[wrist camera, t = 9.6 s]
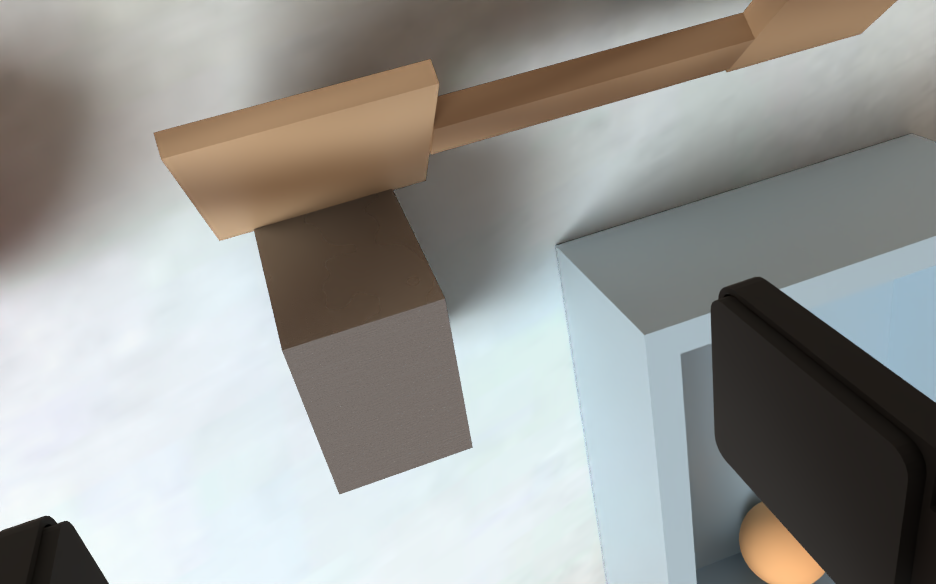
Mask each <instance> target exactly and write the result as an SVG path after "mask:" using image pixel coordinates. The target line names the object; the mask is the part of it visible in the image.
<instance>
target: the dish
mask: <svg viewBox="0 0 936 584" xmlns="http://www.w3.org/2000/svg"><path fill="white" fill-rule="evenodd" d="M556 252H557V259H558V266H559V272H560V279H561V285H562V292H563V299H564V305H565V312H566V318H567V325H568V331H569V338H570V345H571V351H572V358H573V364H574V371H575V377H576V384H577V391H578V397H579V404H580V410H581V417H582V424H583V430H584V437H585V443H586V450H587V456H588V463H589V470H590V476H591V483H592V489H593V496H594V503H595V509H596V516H597V522H598V529H599V535H600V542H601V549H602V555H603V562H604V568H605V575H606V581H607V584H769V583H767V582H765V581H763V580H762V579H761V578H759V577H758V576H757V575H756V574H755V573H754V572H753V571H752V570H751V569H750V568H749V566H748V565H747V563H746V562H745V560H744V558H743V556H742V553H741V550H740V545H739V532H740V527H741V524H742V521H743V519H744V517H745V516H746V514H747V513H748V512H749V510H750V509H752V508H753V507H754V506H755V505H757V504H758V503H760V502H762V501H761V500H760V499H759V498H758V496H757V495H756V494H755V493H754V492H753V491H752V490H751V489H750V488H749V486H748V485H747V484H746V483H745V482H744V481H743V480H742V479H741V477H740V476H739V475H738V474H737V473H736V472H735V471H734V470H733V469H732V467H731V466H730V465H729V464H728V463H727V462H726V461H725V459H724V458H723V457H722V455H721V453H720V452H719V449H718V447H717V444H716V441H715V434H714V404H713V373H712V342H711V312H710V310H711V304H712V302H714V301H715V300H718V296H719V292H720V290H721V289H722V288H724V287H726V286H729V285H732V284H735V283H738V282H741V281H744V280H747V279H750V278H753V277H762V278H764V279H766V280H767V281H769V282H770V283H771V284H773V285H774V286H775V287H777V288H778V289H780V290H781V291H782V292H784V293H785V294H786V295H788V296H789V297H791V298H792V299H793V300H795V301H796V302H798V303H799V304H800V305H802V306H803V307H804V308H806V309H807V310H809V311H810V312H811V313H813V314H814V315H815V316H817V317H818V318H820V319H821V320H822V321H824V322H825V323H826V324H828V325H829V326H831V327H832V328H833V329H835V330H836V331H838V332H839V333H840V334H842V335H843V336H844V337H846V338H847V339H849V340H850V341H851V342H853V343H854V344H855V345H857V346H858V347H860V348H861V349H862V350H864V351H865V352H867V353H868V354H869V355H871V356H872V357H873V358H875V359H876V360H878V361H879V362H880V363H882V364H883V365H884V366H886V367H887V368H889V369H890V370H891V371H893V372H894V373H896V374H897V375H898V376H900V377H901V378H902V379H904V380H905V381H907V382H908V383H909V384H911V385H912V386H913V387H915V388H916V389H918V390H919V391H920V392H922V393H923V394H925V395H926V396H927V397H929V398H930V399H931V400H933V401H934V402H936V142H935V141H932V140H929V139H926V138H924V137H921V136H918V135H915V134H908V135H905V136H902V137H899V138H896V139H893V140H889V141H886V142H883V143H880V144H877V145H874V146H870V147H867V148H864V149H861V150H858V151H854V152H851V153H848V154H845V155H842V156H839V157H835V158H832V159H829V160H826V161H823V162H820V163H816V164H813V165H810V166H807V167H804V168H800V169H797V170H794V171H791V172H788V173H785V174H781V175H778V176H775V177H772V178H769V179H766V180H762V181H759V182H756V183H753V184H750V185H746V186H743V187H740V188H737V189H734V190H731V191H727V192H724V193H721V194H718V195H715V196H711V197H708V198H705V199H702V200H699V201H696V202H692V203H689V204H686V205H683V206H680V207H677V208H673V209H670V210H667V211H664V212H661V213H657V214H654V215H651V216H648V217H645V218H642V219H638V220H635V221H632V222H629V223H626V224H623V225H619V226H616V227H613V228H610V229H607V230H603V231H600V232H597V233H594V234H591V235H588V236H584V237H581V238H578V239H575V240H572V241H569V242H565V243H562V244H559V245H556ZM812 584H835V582H834V581H833V580H832V579H831V578H830V577H829V576H828V575H827V574H826V572H825V573H824V574H823V575H822V576H821V577H820V578H819V579H818V580H817V581H815V582H814V583H812Z"/></svg>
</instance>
